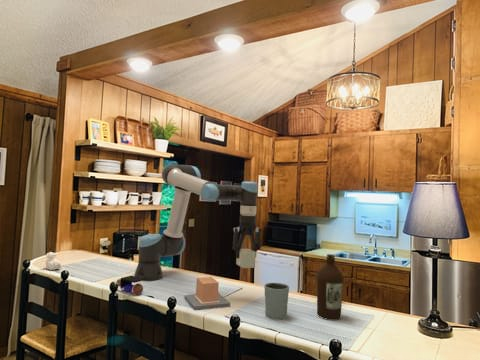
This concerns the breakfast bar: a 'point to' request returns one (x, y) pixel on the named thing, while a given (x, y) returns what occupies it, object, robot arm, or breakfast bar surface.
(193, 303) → the slate board
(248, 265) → the sage brick
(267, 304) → the grey cup
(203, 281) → the terracotta brick
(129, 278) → the figurine character
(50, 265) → the duck figurine
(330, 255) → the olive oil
